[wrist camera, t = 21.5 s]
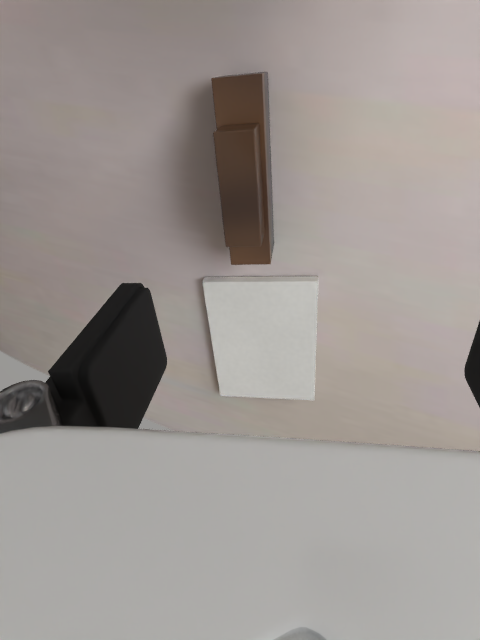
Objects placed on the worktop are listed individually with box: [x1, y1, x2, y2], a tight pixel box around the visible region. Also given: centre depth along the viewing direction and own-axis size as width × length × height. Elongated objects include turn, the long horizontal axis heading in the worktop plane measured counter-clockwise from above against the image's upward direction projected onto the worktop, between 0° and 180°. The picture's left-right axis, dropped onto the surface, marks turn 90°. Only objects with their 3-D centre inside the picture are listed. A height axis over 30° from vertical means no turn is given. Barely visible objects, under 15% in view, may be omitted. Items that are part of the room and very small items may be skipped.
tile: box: [202, 276, 318, 400], centre depth 37 cm, size 14×10×1 cm
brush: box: [211, 72, 274, 265], centre depth 26 cm, size 12×3×6 cm, turn 5°
